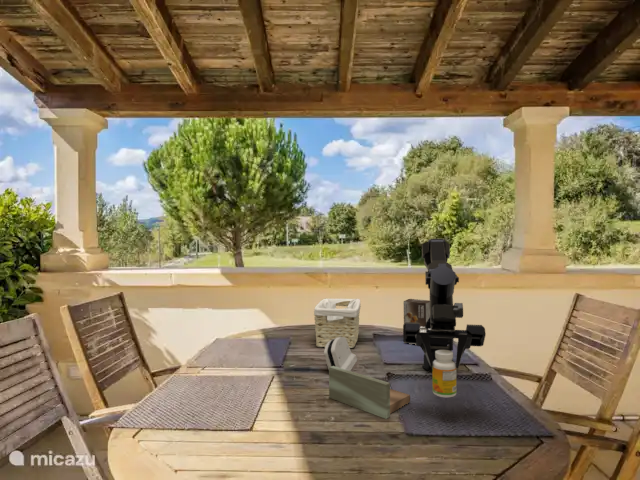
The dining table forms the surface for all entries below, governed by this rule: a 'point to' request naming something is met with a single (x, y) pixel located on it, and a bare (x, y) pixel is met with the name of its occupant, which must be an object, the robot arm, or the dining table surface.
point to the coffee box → (416, 311)
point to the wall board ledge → (365, 392)
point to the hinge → (339, 354)
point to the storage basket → (337, 321)
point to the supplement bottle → (444, 374)
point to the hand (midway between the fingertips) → (444, 366)
